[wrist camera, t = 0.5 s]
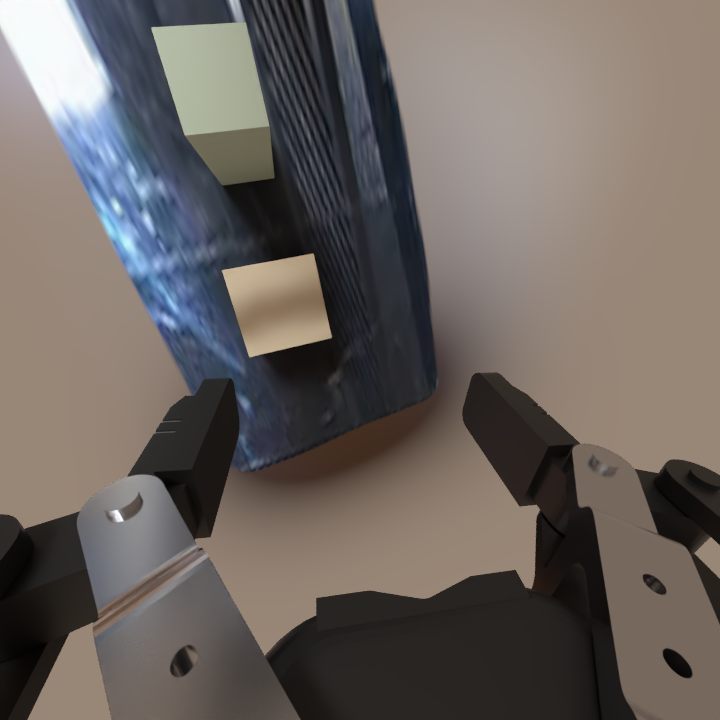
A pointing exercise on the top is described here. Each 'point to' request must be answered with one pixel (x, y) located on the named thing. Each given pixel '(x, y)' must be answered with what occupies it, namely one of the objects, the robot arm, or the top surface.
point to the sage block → (218, 98)
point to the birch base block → (278, 304)
